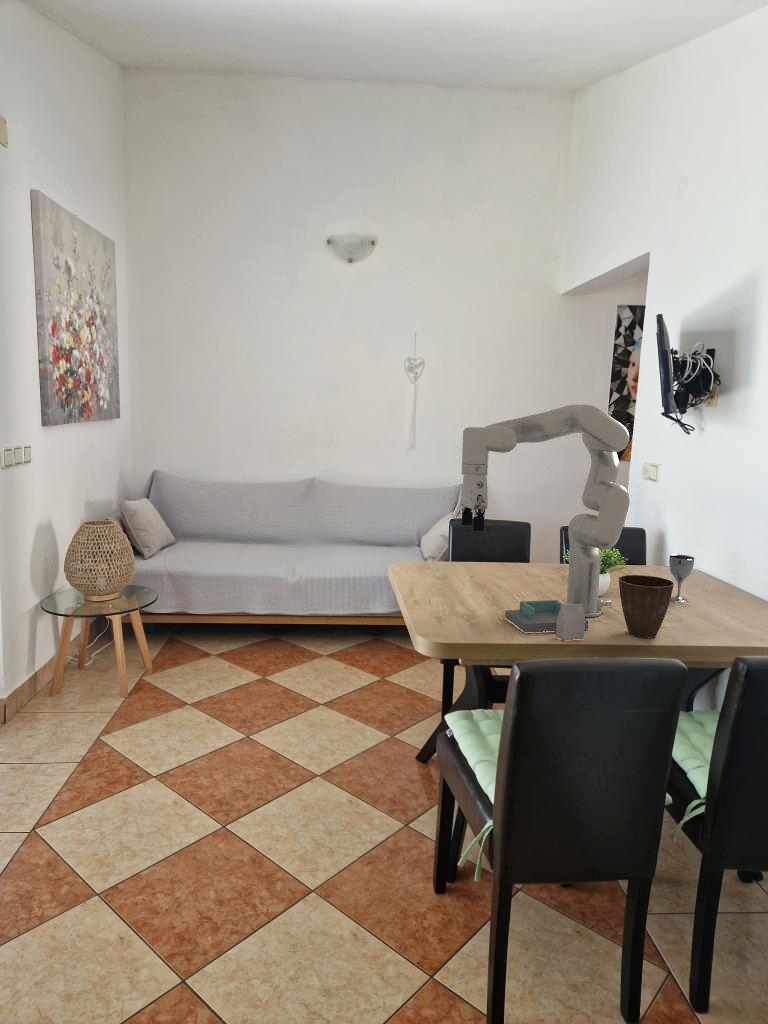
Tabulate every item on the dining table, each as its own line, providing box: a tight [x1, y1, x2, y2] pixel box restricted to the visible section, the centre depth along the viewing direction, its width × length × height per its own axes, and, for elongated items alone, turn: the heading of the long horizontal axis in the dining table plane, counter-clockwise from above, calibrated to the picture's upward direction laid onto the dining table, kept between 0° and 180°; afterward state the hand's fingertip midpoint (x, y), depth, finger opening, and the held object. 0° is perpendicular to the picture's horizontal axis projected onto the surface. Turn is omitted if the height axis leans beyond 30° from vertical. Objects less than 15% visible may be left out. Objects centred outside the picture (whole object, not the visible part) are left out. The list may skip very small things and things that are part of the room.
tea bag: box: [555, 603, 586, 641], centre depth 204 cm, size 4×7×10 cm, turn 107°
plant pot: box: [618, 574, 675, 639], centre depth 209 cm, size 15×15×16 cm
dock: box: [504, 599, 589, 632], centre depth 217 cm, size 20×14×6 cm
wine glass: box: [668, 554, 695, 603], centre depth 250 cm, size 8×8×15 cm
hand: (472, 527), depth 214 cm, fingers open, 9 cm apart
